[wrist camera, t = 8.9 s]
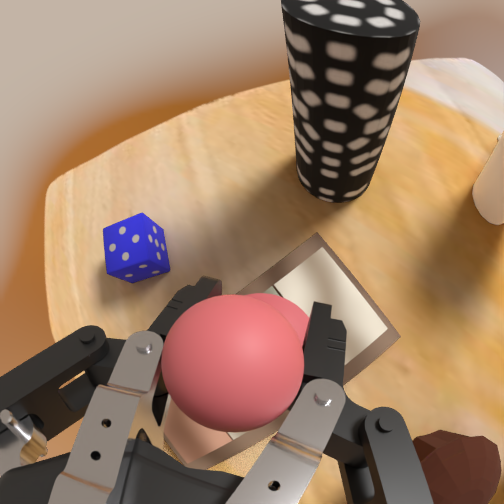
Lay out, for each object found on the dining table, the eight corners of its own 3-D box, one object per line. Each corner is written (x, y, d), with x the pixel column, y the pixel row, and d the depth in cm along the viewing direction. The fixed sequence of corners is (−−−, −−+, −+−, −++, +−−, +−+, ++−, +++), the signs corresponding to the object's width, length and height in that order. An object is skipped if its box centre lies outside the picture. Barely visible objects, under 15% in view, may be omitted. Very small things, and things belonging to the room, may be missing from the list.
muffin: (483, 419, 21) (535, 439, 11) (448, 502, 18) (484, 540, 9) (392, 418, 23) (431, 451, 14) (358, 507, 21) (374, 560, 11)
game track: (316, 234, 29) (317, 231, 28) (398, 336, 25) (401, 336, 24) (126, 375, 28) (122, 375, 28) (194, 473, 24) (191, 476, 24)
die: (163, 228, 32) (142, 211, 28) (171, 271, 31) (149, 259, 26) (126, 242, 33) (102, 228, 28) (131, 283, 31) (106, 274, 26)
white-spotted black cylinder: (287, 190, 31) (261, 23, 12) (307, 131, 33) (299, -25, 14) (363, 212, 29) (423, 55, 10) (376, 149, 31) (416, -2, 12)
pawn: (274, 274, 15) (245, 195, 7) (340, 361, 14) (400, 394, 5) (187, 337, 15) (72, 330, 7) (249, 424, 13) (192, 515, 5)
